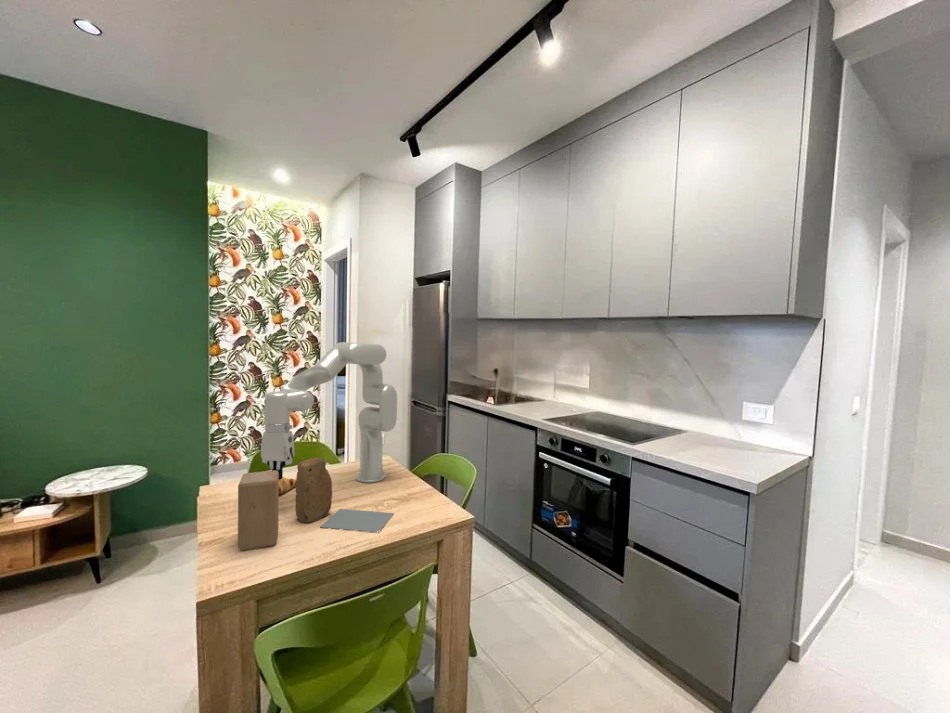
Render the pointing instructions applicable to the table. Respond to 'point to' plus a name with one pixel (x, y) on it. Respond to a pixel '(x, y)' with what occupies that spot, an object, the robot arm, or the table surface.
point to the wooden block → (258, 509)
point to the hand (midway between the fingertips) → (277, 479)
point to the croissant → (286, 484)
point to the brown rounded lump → (313, 490)
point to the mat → (357, 520)
